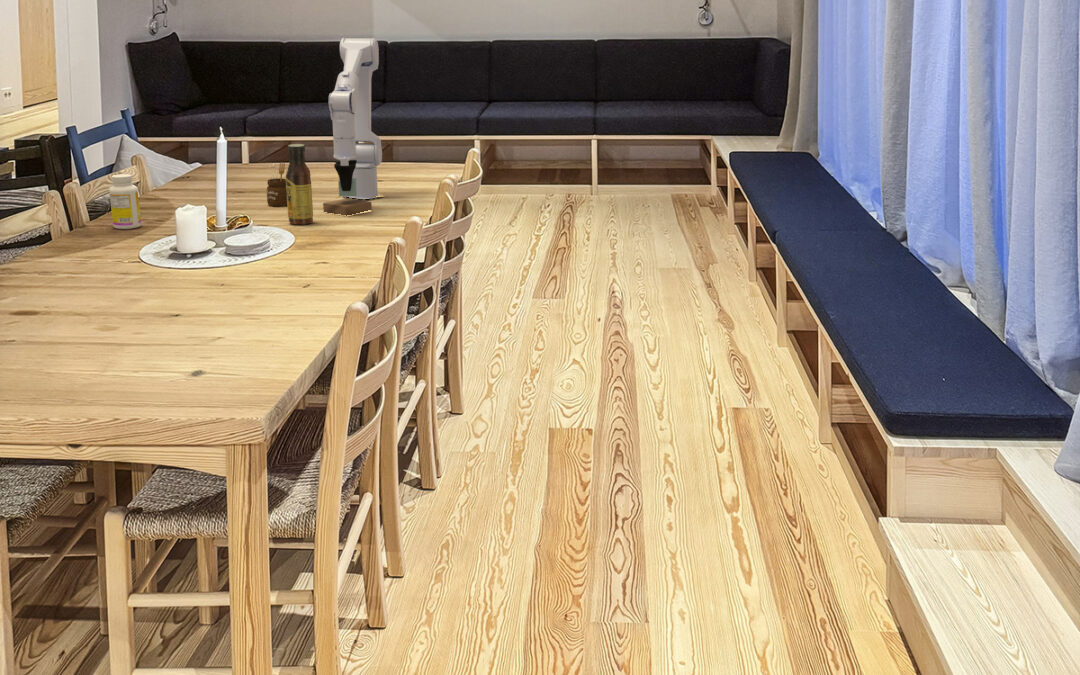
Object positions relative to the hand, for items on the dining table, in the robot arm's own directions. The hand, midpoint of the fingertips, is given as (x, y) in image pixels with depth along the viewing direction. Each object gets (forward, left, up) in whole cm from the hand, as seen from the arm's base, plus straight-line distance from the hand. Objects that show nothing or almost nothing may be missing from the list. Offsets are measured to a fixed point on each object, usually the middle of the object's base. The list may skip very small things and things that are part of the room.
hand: (346, 189), depth 295 cm
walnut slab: (0, 0, -6) cm, 6 cm away
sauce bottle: (+2, -18, -6) cm, 19 cm away
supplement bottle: (-28, -48, -6) cm, 56 cm away
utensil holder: (-22, -5, -6) cm, 23 cm away
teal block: (0, 0, -2) cm, 2 cm away
